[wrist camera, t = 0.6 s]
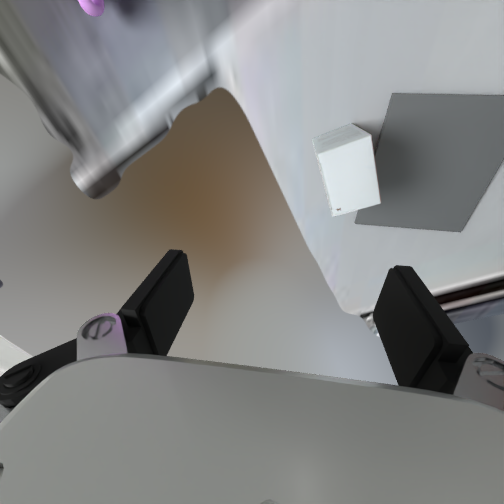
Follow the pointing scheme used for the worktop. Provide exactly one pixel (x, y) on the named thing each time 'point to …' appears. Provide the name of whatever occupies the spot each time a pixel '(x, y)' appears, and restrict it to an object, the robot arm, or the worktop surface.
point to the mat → (435, 159)
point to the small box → (347, 169)
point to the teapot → (93, 7)
